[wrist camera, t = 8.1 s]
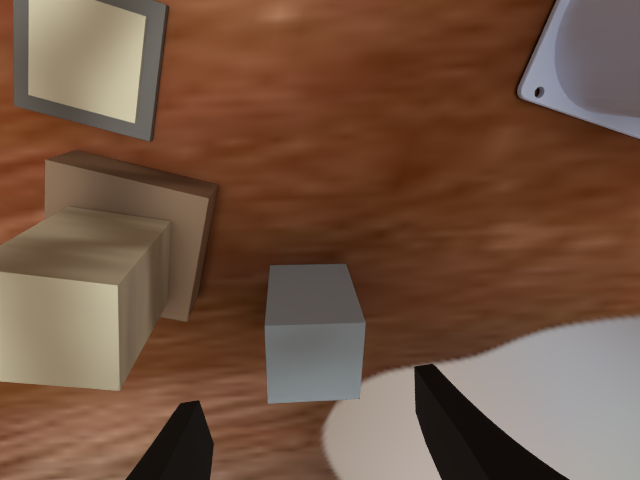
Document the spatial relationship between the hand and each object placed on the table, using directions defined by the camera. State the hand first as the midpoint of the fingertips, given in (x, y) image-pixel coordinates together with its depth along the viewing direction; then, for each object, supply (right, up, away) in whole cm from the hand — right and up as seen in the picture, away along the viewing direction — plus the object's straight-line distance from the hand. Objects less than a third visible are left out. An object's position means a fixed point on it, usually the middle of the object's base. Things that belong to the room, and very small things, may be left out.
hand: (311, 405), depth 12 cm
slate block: (0, +2, +11) cm, 11 cm away
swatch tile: (-10, +14, +5) cm, 18 cm away
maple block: (-9, +5, +6) cm, 12 cm away
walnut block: (-9, +6, +8) cm, 14 cm away
